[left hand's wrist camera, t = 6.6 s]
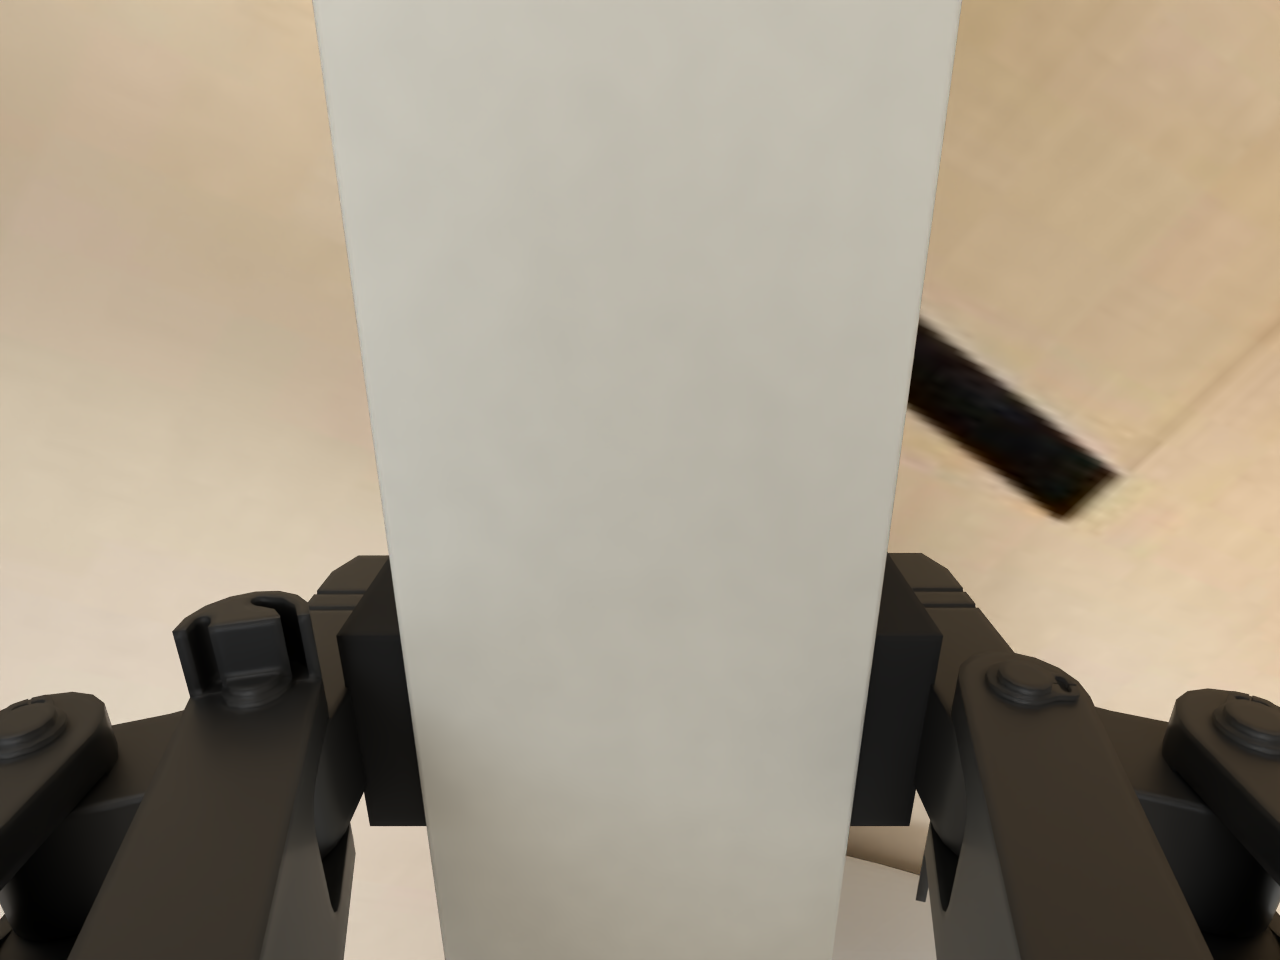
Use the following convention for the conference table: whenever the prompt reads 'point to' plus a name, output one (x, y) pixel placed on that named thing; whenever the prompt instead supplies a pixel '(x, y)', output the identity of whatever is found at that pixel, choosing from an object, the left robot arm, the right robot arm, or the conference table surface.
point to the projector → (882, 915)
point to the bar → (637, 439)
